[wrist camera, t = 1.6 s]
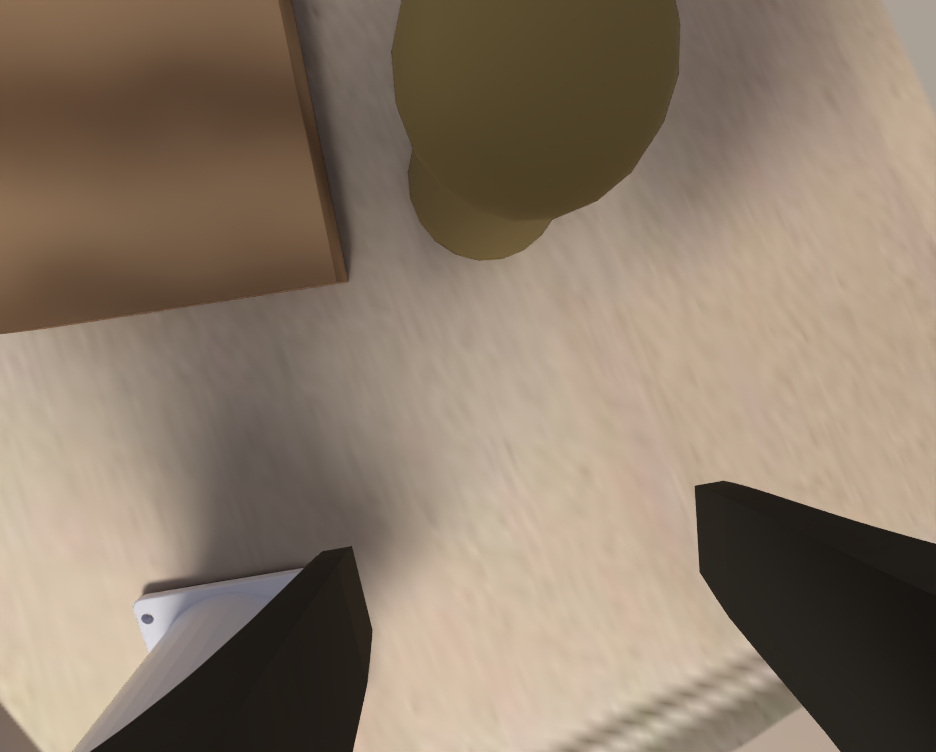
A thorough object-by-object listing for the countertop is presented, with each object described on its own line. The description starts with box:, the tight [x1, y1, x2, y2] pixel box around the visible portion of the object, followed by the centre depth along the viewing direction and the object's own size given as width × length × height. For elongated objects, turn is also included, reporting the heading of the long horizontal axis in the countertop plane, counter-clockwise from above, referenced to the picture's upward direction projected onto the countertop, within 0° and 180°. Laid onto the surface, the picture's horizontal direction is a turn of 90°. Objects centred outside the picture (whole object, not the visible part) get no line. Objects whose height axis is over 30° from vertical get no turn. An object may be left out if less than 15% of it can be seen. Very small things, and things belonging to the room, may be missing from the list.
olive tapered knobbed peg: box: [391, 0, 680, 260], centre depth 12 cm, size 6×6×11 cm
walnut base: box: [0, 0, 348, 334], centre depth 16 cm, size 12×12×2 cm
